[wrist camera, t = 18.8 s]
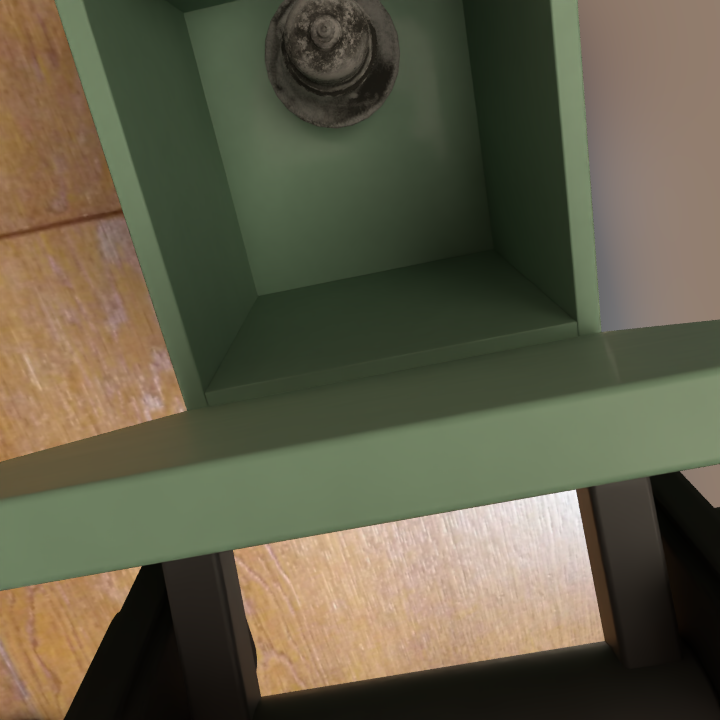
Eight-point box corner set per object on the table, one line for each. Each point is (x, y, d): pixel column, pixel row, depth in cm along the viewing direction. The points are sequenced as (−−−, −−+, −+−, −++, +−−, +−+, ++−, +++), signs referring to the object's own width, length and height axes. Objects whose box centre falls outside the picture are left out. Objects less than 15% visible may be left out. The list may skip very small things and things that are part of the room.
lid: (-428, 578, 6) (-316, 1158, 6) (1306, 258, 5) (1436, 935, 5) (183, 411, 22) (212, 561, 22) (605, 331, 21) (635, 487, 21)
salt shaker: (268, -3, 30) (217, -80, 19) (393, -8, 30) (418, -89, 19) (279, 130, 32) (239, 134, 21) (396, 125, 32) (420, 125, 21)
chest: (167, 1, 31) (22, -97, 17) (467, -68, 30) (562, -227, 16) (249, 308, 36) (188, 417, 23) (506, 257, 35) (602, 338, 22)
